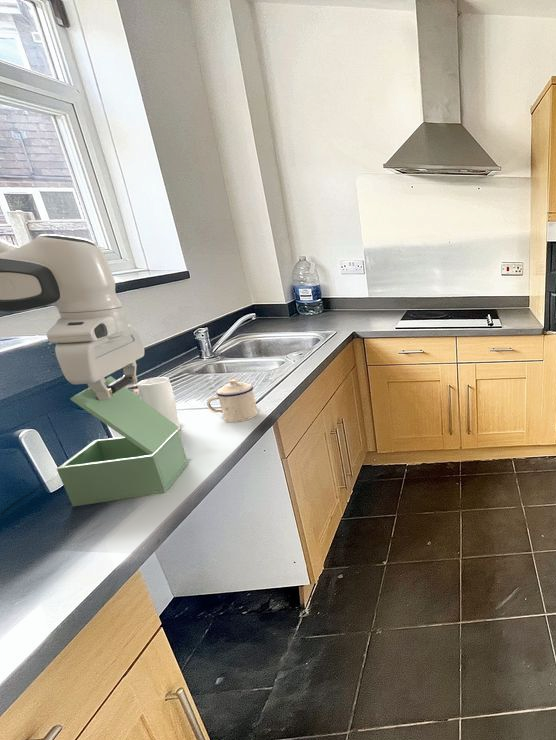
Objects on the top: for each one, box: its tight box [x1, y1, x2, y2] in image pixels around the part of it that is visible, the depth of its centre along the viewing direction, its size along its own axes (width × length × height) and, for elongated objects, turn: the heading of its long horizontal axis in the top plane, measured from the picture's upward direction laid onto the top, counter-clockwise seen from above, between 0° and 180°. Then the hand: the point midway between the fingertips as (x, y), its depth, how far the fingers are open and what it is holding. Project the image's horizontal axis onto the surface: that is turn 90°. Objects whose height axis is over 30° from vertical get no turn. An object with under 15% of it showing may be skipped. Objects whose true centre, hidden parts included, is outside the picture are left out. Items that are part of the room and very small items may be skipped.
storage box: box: [56, 430, 189, 507], centre depth 90 cm, size 16×13×9 cm
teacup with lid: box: [206, 378, 259, 423], centre depth 122 cm, size 12×9×12 cm
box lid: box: [69, 375, 179, 455], centre depth 87 cm, size 16×13×5 cm
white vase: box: [136, 376, 181, 431], centre depth 112 cm, size 7×7×15 cm
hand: (119, 390), depth 85 cm, fingers open, 8 cm apart
